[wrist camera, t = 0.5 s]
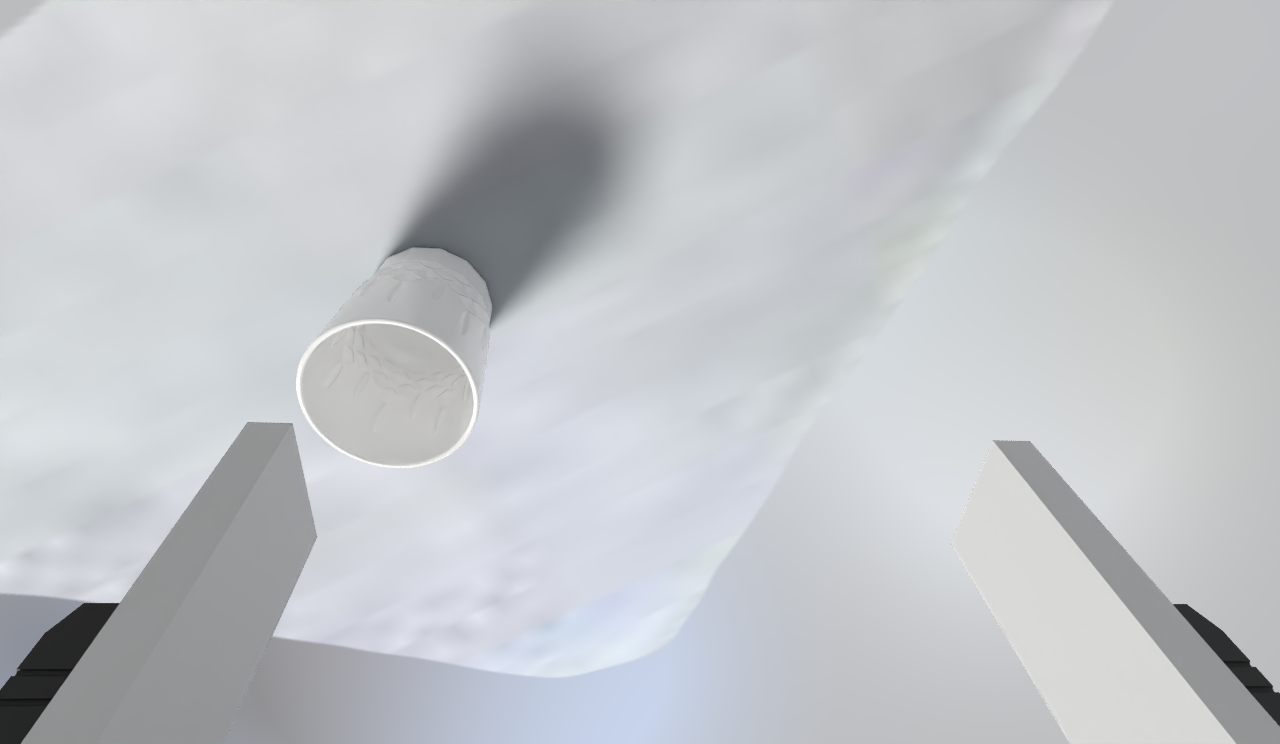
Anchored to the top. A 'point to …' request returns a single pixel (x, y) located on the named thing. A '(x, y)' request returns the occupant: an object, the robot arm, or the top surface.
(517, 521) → the top surface
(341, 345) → the white cup
